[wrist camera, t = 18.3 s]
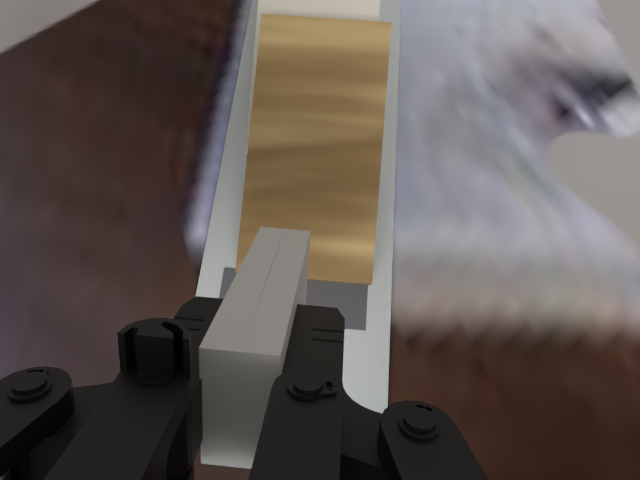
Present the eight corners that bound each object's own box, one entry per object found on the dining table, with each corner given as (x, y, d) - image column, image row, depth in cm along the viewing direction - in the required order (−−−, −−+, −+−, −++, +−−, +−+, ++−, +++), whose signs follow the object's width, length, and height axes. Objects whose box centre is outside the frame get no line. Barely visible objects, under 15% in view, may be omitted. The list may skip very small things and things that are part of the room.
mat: (385, 422, 22) (387, 421, 22) (178, 403, 23) (174, 402, 22) (400, -1, 32) (401, -10, 32) (256, -10, 33) (255, -19, 32)
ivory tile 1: (367, 164, 25) (386, -75, 26) (244, 155, 25) (265, -82, 26) (365, 170, 27) (382, -55, 27) (249, 162, 27) (269, -62, 28)
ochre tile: (371, 284, 23) (391, 22, 24) (235, 272, 23) (261, 13, 24) (369, 284, 24) (388, 39, 26) (241, 274, 24) (266, 31, 26)
